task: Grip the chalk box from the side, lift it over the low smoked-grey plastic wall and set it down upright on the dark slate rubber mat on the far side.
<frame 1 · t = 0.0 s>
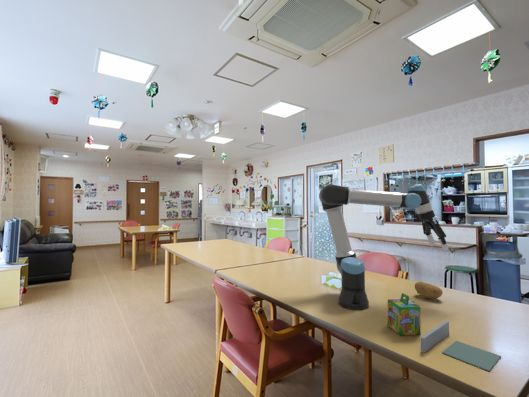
hand: (439, 247, 147), 28 cm above the table, tool tilted 20°, fingers open, 13 cm apart
mat: (471, 355, 92), on the table
chalk box: (403, 331, 111), on the table
low wall: (435, 342, 101), on the table
potato: (428, 298, 147), on the table
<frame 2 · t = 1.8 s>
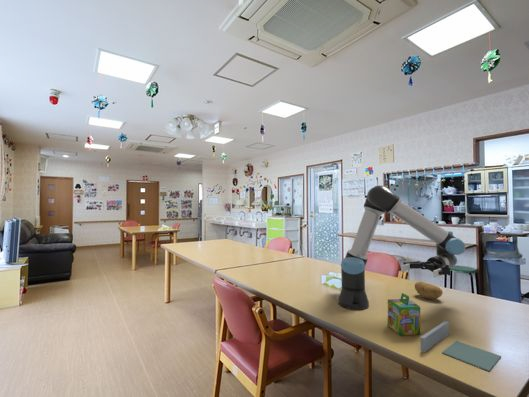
hand: (417, 271, 120), 22 cm above the table, tool horizontal, fingers open, 13 cm apart
nothing on the table moved.
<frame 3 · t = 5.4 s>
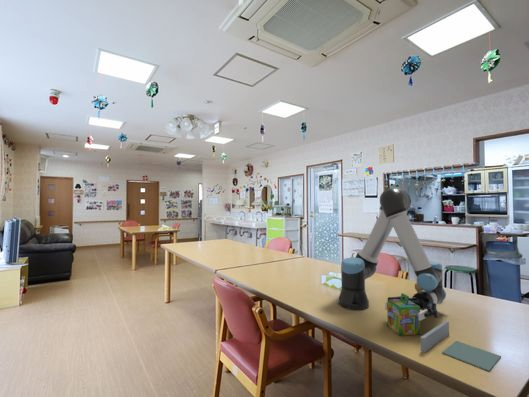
hand: (401, 311, 109), 8 cm above the table, tool horizontal, fingers open, 13 cm apart
nothing on the table moved.
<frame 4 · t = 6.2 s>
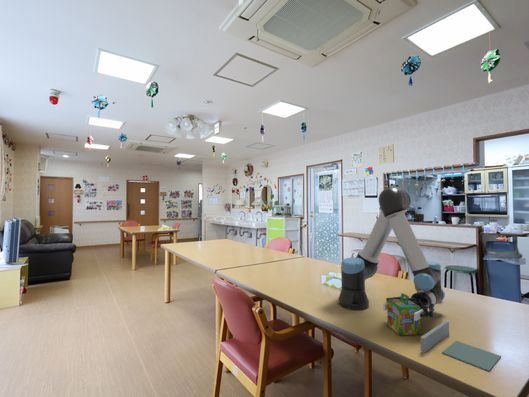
hand: (398, 311, 109), 9 cm above the table, tool horizontal, fingers closed on chalk box, 12 cm apart
chalk box: (403, 330, 111), on the table, touching gripper
everything else where it was.
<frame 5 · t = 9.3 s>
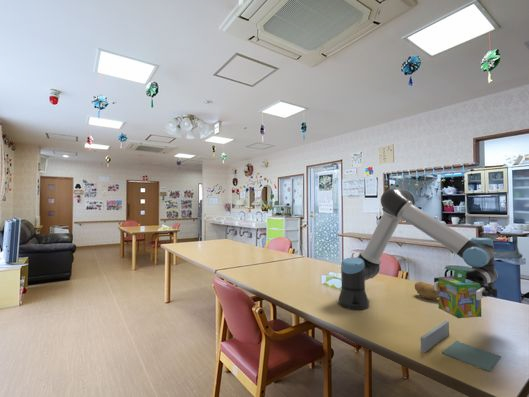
hand: (455, 291, 93), 22 cm above the table, tool horizontal, fingers closed on chalk box, 12 cm apart
chalk box: (459, 313, 95), point 13 cm above the table, touching gripper
everything else where it was.
when the fingers open (10 cm above the table, at t = 12.3 s): chalk box drops 2 cm, resting on mat.
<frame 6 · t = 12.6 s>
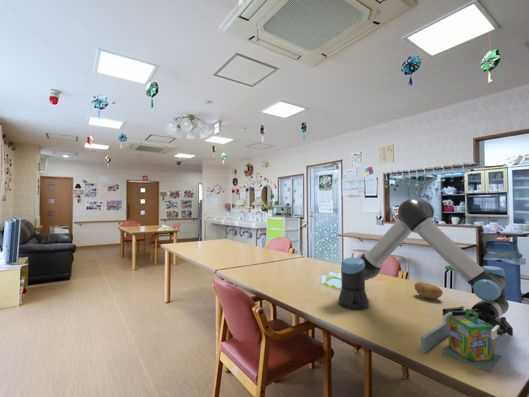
hand: (466, 327, 90), 10 cm above the table, tool horizontal, fingers open, 13 cm apart
chalk box: (470, 354, 92), resting on mat
everything else where it was.
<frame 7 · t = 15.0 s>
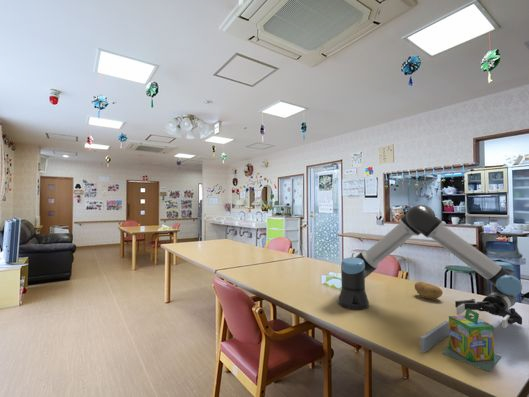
hand: (479, 317, 98), 11 cm above the table, tool horizontal, fingers open, 13 cm apart
nothing on the table moved.
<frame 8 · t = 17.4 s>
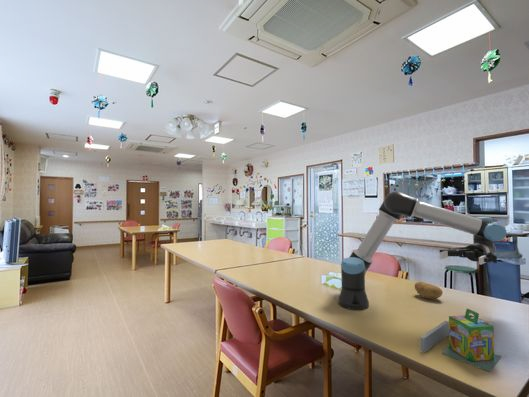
hand: (459, 258, 109), 30 cm above the table, tool horizontal, fingers open, 13 cm apart
nothing on the table moved.
at the end: chalk box inside the target area (0.0 cm from its centre), resting on mat; chalk box tilted 0°; the gripper is holding nothing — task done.
